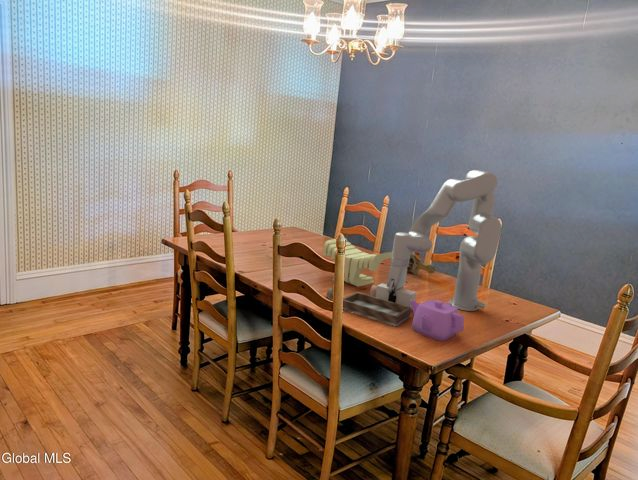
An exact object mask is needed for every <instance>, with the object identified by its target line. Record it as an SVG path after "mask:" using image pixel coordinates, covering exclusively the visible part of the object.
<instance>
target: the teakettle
mask: <svg viewBox="0 0 638 480" xmlns="http://www.w3.org/2000/svg"><path fill="white" fill-rule="evenodd" d="M410 303H411V307H412V309H411V311H412V313H413V319H412V324H411V325H412V330H413V331H414V332H416V333H418V334H421V335H422V334H423V335H422V336H425V337H427V336H428V338H431V339H434V340H436V341H439V340H440V342H445V341H447V340H449V339H452V338H453V337H454V336H455V335H456V334H457V333H459V332H463V331H464V326H465V325H464V323H465V316H464V315H462V314H460V313H459V309H457V308H455V307H453V306H452V304H450V303H449V302H444V301H442V300H439V299H437V300H436V299H435V300H434V299H429V300H426V301H423V302H421V303H419V304H418V303H417V300H415V301H413V300H412V301H410Z"/></svg>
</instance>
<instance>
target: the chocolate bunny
mask: <svg viewBox="0 0 638 480" xmlns="http://www.w3.org/2000/svg"><path fill="white" fill-rule="evenodd" d="M334 278H335V277H333V278H331V279H332V280H331V283H332V285H333V284H334ZM326 293H327V294H326V295H327V297H329V298H330V299H329V298H328V299H329V300H331V299H333V287H331V288H329V289H327V292H326ZM326 295H325V296H326ZM327 297H326V298H327Z"/></svg>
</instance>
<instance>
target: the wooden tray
mask: <svg viewBox="0 0 638 480" xmlns="http://www.w3.org/2000/svg"><path fill="white" fill-rule="evenodd" d="M342 299H343V309H344V310H343V311H345V310H346V311H345V312H348V311H350V312H349V313H351V312H353V313H352V314H354V313H356V314H355V315H357V314H359V315H358V316H360V315H362V316H361V317H364V316H365V317H364V318H367V317H369V318H368V319H370V318H372V319H371V320H373V319H375V320H374V321H376V320H378V321H377V322H379V321H381V322H380V323H382V322H384V323H383V324H386V323H387V324H386V325H389V324H390V325H389V326H392V325H393V326H392V327H395V326H396V327H397V326H399V325H400V324H402V323H403V322H404V321H406V320H408V319H409V318H410V317H411V313H412V312H411V311H412V309H411V307H408V306H404V305H401V304H397V303H394V302H390V301H387V300H384V299H380V298H377V297H373V296H371V295H370V294H366V293H362V292H359V291H356V292H354V293H352V294H350V295H347V296H345V297H343V298H342Z"/></svg>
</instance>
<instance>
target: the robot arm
mask: <svg viewBox="0 0 638 480" xmlns="http://www.w3.org/2000/svg"><path fill="white" fill-rule="evenodd" d="M498 183H499V182H498V178H497V176H496V175H495V174H493V172H491V171H485V170H480V169H472V170H469V171H468V172H467V173H466V175H465V179H463V180H460V179H457V178H449V179H447V180H446V181H444V183H443V184H442V185H441V187H440V188H439V191H438V193H436V195H435V197H434V198H433V201H432V202H431V204H430V205H429V207H428V208H427V209H426V210H425V211H424V212H423V213H422V214H421V215H420V216H419V217H417V219H416V220H415V221H414V222H413V224H412V225H411V227H410V229H409V231H408V232H401V231H399V232H396V233H395V234H394V235H393V237H394V238H393V244H392V245H393V246H392V251H391V252H392V257H390V267H389V271H388V274H387V279H386V284H387V287H389V288H388V291H389V298H388V301H390V302H394V303H395V302H396V296H395V295H396V291H397V289H399V288H402V289H404V286H405V285H406V281H407V274H408V271H407V267H408V266H409V259H410V253H412V252H418V253H419V254H425V253H428V252H429V251H430V250H432V246H433V242H432V240H431V239H430V237H428V236H427V235H426V234H427V233H428V231H429V230H430V229H431V228H432V227H433V226H434V225H436V224H437V223H440V222H443V221H445V220H447V219H448V217H449V216H450V214H451V212H452V210H453V209H454V207H455V206H456V204H457V203H465V202H467V201H468V202H469V201H472V200H473V204H472V207H471V213H470V216H469V220H468V228H469V230H470V232H471V233H473V234H475V235H477V236H475V235H469V236H467V237H464V239H463V240H461V242H460V245H459V262H458V270H457V276H456V282H455V287H454V295H453V298H452V299H449V302H448V303H450V304H452V306H453V307H455V308H457V309H458V310H460V311H466V312H475V311H477V310H479V308H482V309H486V303H485V302H484V301H483V302H482V301H480V300H479V297H477V296H478V290H479V286H480V281H481V274H482V266H483V265H488V264H489V263H491V262H492V261H493V260H494V258H495V256H496V253H497V249H498V245H499V243H500V238H501V234H502V233H501V232H502V223H501V222H500V220H499V218H498V217H496V216H494V215H493V214H494V209H495V202H496V196H495V189H496V188H497V187H498ZM393 287H395V288H393ZM392 289H393V290H395V291H393V290H392Z"/></svg>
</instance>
